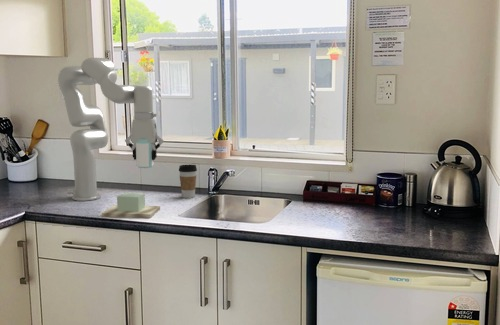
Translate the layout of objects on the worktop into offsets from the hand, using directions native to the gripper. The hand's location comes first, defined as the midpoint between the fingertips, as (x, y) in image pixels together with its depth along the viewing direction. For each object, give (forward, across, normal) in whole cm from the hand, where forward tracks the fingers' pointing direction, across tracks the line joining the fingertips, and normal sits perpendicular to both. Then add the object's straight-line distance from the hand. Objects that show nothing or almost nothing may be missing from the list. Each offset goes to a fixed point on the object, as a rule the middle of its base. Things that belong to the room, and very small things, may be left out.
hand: (144, 159), depth 227 cm
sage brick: (+20, +4, +6) cm, 21 cm away
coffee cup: (+22, -13, -26) cm, 36 cm away
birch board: (+21, +4, +6) cm, 23 cm away
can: (+4, 0, 0) cm, 4 cm away
